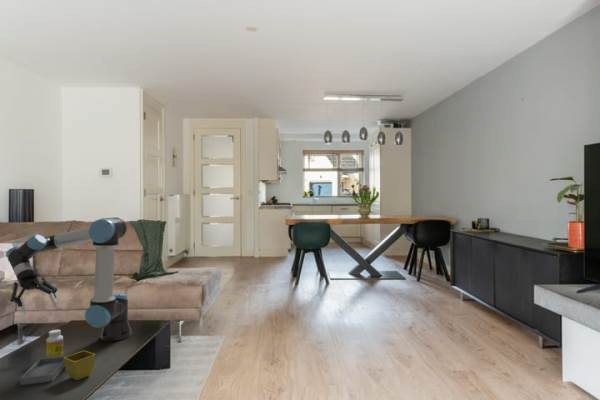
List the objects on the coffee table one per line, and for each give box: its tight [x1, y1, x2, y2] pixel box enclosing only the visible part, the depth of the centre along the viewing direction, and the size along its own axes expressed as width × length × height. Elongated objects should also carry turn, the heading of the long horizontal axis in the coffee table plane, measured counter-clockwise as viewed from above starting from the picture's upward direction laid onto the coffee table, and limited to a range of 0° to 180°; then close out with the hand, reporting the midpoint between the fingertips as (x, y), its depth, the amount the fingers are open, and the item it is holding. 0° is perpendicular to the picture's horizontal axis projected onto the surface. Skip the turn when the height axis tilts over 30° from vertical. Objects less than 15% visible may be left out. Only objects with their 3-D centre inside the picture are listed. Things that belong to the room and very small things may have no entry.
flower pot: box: [64, 350, 96, 381], centre depth 164 cm, size 9×9×9 cm
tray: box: [19, 355, 68, 386], centre depth 169 cm, size 12×20×3 cm, turn 15°
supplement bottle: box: [45, 329, 64, 358], centre depth 184 cm, size 7×7×13 cm
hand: (41, 307), depth 189 cm, fingers open, 13 cm apart
